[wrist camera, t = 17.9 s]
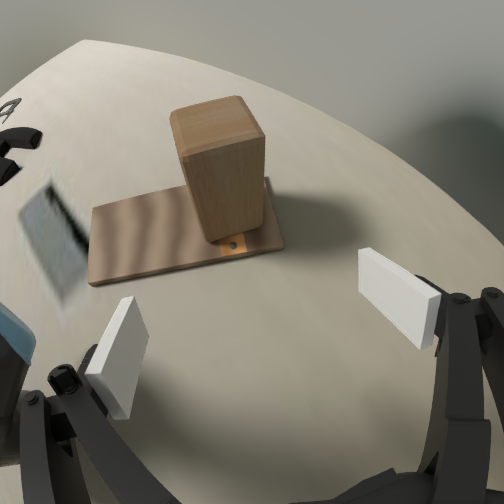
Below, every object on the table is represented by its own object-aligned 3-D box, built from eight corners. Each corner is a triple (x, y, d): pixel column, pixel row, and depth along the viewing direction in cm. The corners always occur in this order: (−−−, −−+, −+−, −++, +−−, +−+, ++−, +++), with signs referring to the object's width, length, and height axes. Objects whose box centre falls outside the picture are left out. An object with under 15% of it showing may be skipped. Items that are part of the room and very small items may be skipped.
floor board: (91, 286, 45) (86, 282, 44) (95, 212, 52) (92, 207, 51) (283, 248, 48) (284, 244, 46) (261, 176, 55) (261, 170, 53)
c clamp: (27, 97, 83) (25, 93, 81) (3, 124, 76) (0, 120, 73) (8, 102, 86) (6, 98, 83) (-14, 127, 79) (-16, 123, 76)
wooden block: (192, 199, 51) (167, 109, 33) (245, 183, 52) (241, 91, 34) (205, 246, 47) (178, 158, 29) (264, 228, 48) (268, 135, 30)
